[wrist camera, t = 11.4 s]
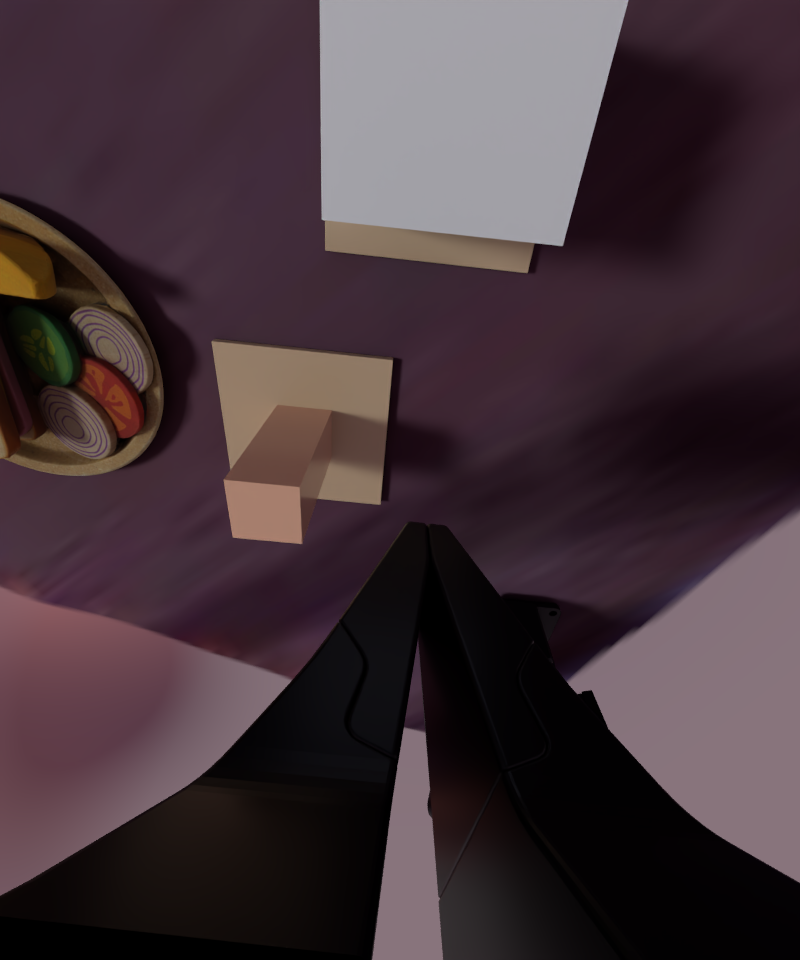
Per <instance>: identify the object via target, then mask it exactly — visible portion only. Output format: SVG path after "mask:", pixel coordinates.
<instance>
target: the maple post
mask: <svg viewBox="0 0 800 960" xmlns="http://www.w3.org/2000/svg"><path fill="white" fill-rule="evenodd" d="M534 244H535V243H529V242H520V241H511V240H502V239H493V238H483V237H474V236H465V235H456V234H447V233H437V232H428V231H419V230H410V229H401V228H391V227H382V226H373V225H364V224H355V223H345V222H336V221H327V220H325V251H334V252H343V253H352V254H361V255H370V256H379V257H388V258H397V259H406V260H414V261H423V262H432V263H441V264H450V265H459V266H468V267H477V268H486V269H495V270H504V271H513V272H522V273H528V269H529V265H530V261H531V256H532V252H533V248H534Z"/></svg>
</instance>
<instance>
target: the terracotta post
mask: <svg viewBox="0 0 800 960" xmlns="http://www.w3.org/2000/svg"><path fill="white" fill-rule="evenodd" d="M212 347H213V354H214V360H215V367H216V374H217V381H218V387H219V394H220V401H221V408H222V414H223V421H224V428H225V435H226V441H227V448H228V455H229V462H230V468H231V470H230V472H229V473H228V474H227V476H226V477H225V479H224V485H225V492H226V498H227V504H228V510H229V516H230V522H231V529H232V535H233V538H244V539H255V540H266V541H277V542H287V543H298V544H302V543H303V540H304V537H305V534H306V531H307V528H308V525H309V522H310V519H311V516H312V513H313V510H314V507H315V504H316V501H317V499H326V500H337V501H347V502H358V503H368V504H379V505H380V503H381V493H382V481H383V470H384V458H385V447H386V436H387V424H388V413H389V401H390V390H391V378H392V367H393V357H383V356H374V355H364V354H355V353H345V352H336V351H326V350H316V349H307V348H297V347H288V346H278V345H269V344H259V343H250V342H240V341H231V340H221V339H214V340H213V341H212Z"/></svg>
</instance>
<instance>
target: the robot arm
mask: <svg viewBox="0 0 800 960" xmlns="http://www.w3.org/2000/svg"><path fill="white" fill-rule="evenodd" d="M560 615H561V611H560V608H559V606H558V605H557V604H554V603H543V602H532V601H520V600H509V599H502V598H501V597H500V595H499V594H498V593H497V591H496V590H495V589H494V587H493V586H492V585H491V584H490V582H489V581H488V580H487V578H486V577H485V576H484V574H483V573H482V572H481V570H480V569H479V568H478V566H477V565H476V564H475V563H474V561H473V560H472V559H471V557H470V556H469V555H468V553H467V552H466V551H465V549H464V548H463V547H462V545H461V544H460V543H459V542H458V540H457V539H456V538H455V536H454V535H453V534H452V532H451V531H450V530H449V528H448V527H447V526H445V525H436V524H428V525H427V526H426V524H425V523H419V522H407V523H406V524H405V526H404V527H403V529H402V530H401V532H400V533H399V534H398V536H397V537H396V539H395V540H394V542H393V543H392V545H391V546H390V547H389V549H388V550H387V552H386V553H385V555H384V556H383V558H382V559H381V560H380V562H379V563H378V565H377V566H376V568H375V569H374V570H373V572H372V573H371V575H370V576H369V578H368V579H367V581H366V582H365V583H364V585H363V586H362V588H361V589H360V591H359V592H358V593H357V595H356V596H355V598H354V599H353V601H352V602H351V604H350V605H349V606H348V608H347V609H346V611H345V612H344V614H343V615H342V617H341V618H340V619H339V622H338V623H336V625H335V626H334V628H333V629H332V631H331V632H330V633H329V635H328V636H327V638H326V639H325V640H324V642H323V643H322V644H321V646H320V647H319V648H318V650H317V651H316V652H315V654H314V655H313V656H312V658H311V659H310V660H309V661H308V662H307V664H306V665H305V666H304V667H303V668H302V669H301V671H300V672H299V673H298V674H297V675H296V676H295V678H294V679H293V680H292V681H291V682H290V684H288V686H287V687H286V688H285V689H284V690H283V691H282V692H281V693H280V694H279V695H278V697H277V698H276V699H275V700H274V701H273V702H272V703H271V704H270V705H269V706H268V707H267V709H266V710H265V711H264V712H263V713H262V714H261V715H260V716H259V717H258V719H256V721H255V722H254V723H253V724H252V725H251V726H250V727H249V728H248V729H247V730H246V732H245V733H244V734H243V735H242V736H241V737H240V738H239V739H238V740H237V741H236V743H234V745H233V746H232V747H231V748H230V749H229V750H228V751H227V752H226V753H225V754H224V755H223V756H222V757H221V758H220V759H219V760H218V761H217V762H216V763H215V764H214V765H213V766H212V767H211V768H209V769H208V770H207V771H206V772H205V773H203V774H202V775H201V776H200V777H199V778H197V779H196V780H194V781H193V782H192V783H190V784H189V785H188V786H186V787H185V788H183V789H181V790H180V791H178V792H177V793H175V794H173V795H172V796H170V797H168V798H167V799H165V800H163V801H161V802H160V803H158V804H156V805H155V806H153V807H151V808H150V809H148V810H146V811H145V812H143V813H141V814H140V815H138V816H136V817H135V818H133V819H131V820H130V821H128V822H126V823H125V824H123V825H121V826H120V827H118V828H117V829H115V830H113V831H111V832H110V833H108V834H106V835H105V836H103V837H101V838H99V839H98V840H96V841H94V842H93V843H91V844H89V845H88V846H86V847H85V848H83V849H81V850H79V851H78V852H76V853H74V854H73V855H71V856H69V857H68V858H66V859H64V860H63V861H61V862H59V863H58V864H56V865H54V866H53V867H51V868H49V869H48V870H46V871H44V872H42V873H41V874H39V875H37V876H36V877H34V878H33V879H31V880H29V881H27V882H25V883H23V884H22V885H20V886H18V887H16V888H14V889H12V890H10V891H8V892H7V893H4V894H2V895H1V896H0V960H372V956H373V948H374V940H375V932H376V923H377V916H378V908H379V900H380V892H381V884H382V876H383V868H384V860H385V852H386V845H387V836H388V828H389V820H390V813H391V806H392V799H393V792H394V785H395V779H396V772H397V765H398V760H399V753H400V747H401V741H402V734H403V729H404V722H405V716H406V710H407V704H408V697H409V691H410V685H411V678H412V672H413V666H414V660H415V653H416V647H417V641H418V642H419V654H420V667H421V680H422V693H423V706H424V718H425V731H426V744H427V756H428V769H429V781H430V793H429V798H428V812H429V815H430V816H431V817H432V819H433V820H432V821H433V834H434V846H435V859H436V871H437V884H438V896H439V897H440V900H439V912H440V922H441V923H440V924H441V937H442V950H443V960H800V883H799V882H797V881H796V880H794V879H792V878H790V877H789V876H787V875H785V874H783V873H782V872H780V871H778V870H776V869H775V868H773V867H771V866H769V865H768V864H766V863H764V862H762V861H761V860H759V859H757V858H755V857H754V856H752V855H750V854H749V853H747V852H745V851H743V850H742V849H740V848H738V847H736V846H735V845H733V844H731V843H729V842H728V841H726V840H724V839H723V838H721V837H719V836H718V835H716V834H715V833H713V832H712V831H711V830H709V829H708V828H706V827H705V826H703V825H702V824H701V823H700V822H699V821H697V820H696V819H695V818H694V817H693V816H691V815H690V814H689V813H688V812H686V810H684V809H683V808H682V807H681V806H680V805H679V804H678V803H677V802H676V801H675V800H674V799H672V797H671V796H670V795H669V794H668V793H667V792H666V791H665V790H664V789H663V788H662V787H661V786H660V785H659V784H658V783H657V782H656V781H655V779H654V778H653V777H652V776H651V775H650V774H649V773H648V772H647V771H646V770H645V769H644V767H643V766H642V765H641V764H640V763H639V762H638V761H637V760H636V759H635V758H634V757H633V756H632V754H631V753H630V752H629V751H628V750H627V749H626V748H625V747H624V746H623V745H622V744H621V742H620V741H619V740H618V739H617V738H616V737H615V736H614V735H613V734H612V733H611V732H610V730H609V729H608V727H607V725H606V722H605V720H604V718H603V715H602V713H601V711H600V708H599V706H598V704H597V701H596V699H595V697H594V694H593V692H592V690H591V691H583V692H582V694H577V693H576V692H575V691H574V690H573V689H572V688H571V687H570V686H569V684H568V683H567V682H566V681H565V679H564V678H563V677H562V676H561V674H560V673H559V672H558V671H557V669H556V667H555V664H554V660H553V657H552V654H551V651H550V647H549V644H548V640H549V638H550V636H551V634H552V632H553V630H554V628H555V625H556V623H557V621H558V619H559V617H560Z"/></svg>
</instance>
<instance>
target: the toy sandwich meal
mask: <svg viewBox="0 0 800 960" xmlns="http://www.w3.org/2000/svg"><path fill="white" fill-rule="evenodd" d="M163 405H164V390H163V381H162V375H161V370H160V366H159V362H158V359H157V355H156V353H155V350H154V347H153V345H152V342H151V340H150V337H149V335H148V333H147V331H146V329H145V327H144V325H143V323H142V322H141V320H140V318H139V316H138V315H137V313H136V311H135V310H134V308H133V307H132V305H131V304H130V302H129V301H128V299H127V298H126V297H125V295H124V294H123V292H122V291H121V290H120V289H119V287H118V286H117V285H116V284H115V283H114V281H113V280H112V279H111V278H110V277H109V276H108V275H107V273H106V272H105V271H104V270H103V269H102V268H101V267H100V266H99V265H98V264H97V263H96V262H95V261H94V260H93V259H92V258H91V257H90V256H89V255H88V254H87V253H86V252H84V251H83V250H82V249H81V248H80V247H79V246H77V245H76V244H75V243H74V242H73V241H71V240H70V239H69V238H67V237H66V236H65V235H63V234H62V233H61V232H59V231H58V230H56V229H55V228H53V227H52V226H51V225H49V224H48V223H46V222H44V221H43V220H41V219H40V218H38V217H36V216H34V215H33V214H31V213H29V212H27V211H26V210H24V209H22V208H20V207H18V206H16V205H14V204H12V203H9V202H7V201H5V200H2V199H0V459H6V460H8V461H11V462H13V463H16V464H19V465H22V466H25V467H28V468H31V469H34V470H38V471H42V472H47V473H52V474H59V475H69V476H89V475H97V474H103V473H107V472H111V471H114V470H117V469H119V468H122V467H124V466H126V465H127V464H129V463H131V462H132V461H134V460H135V459H137V458H138V457H139V456H140V455H141V454H142V453H143V452H144V451H145V450H146V449H147V448H148V446H149V445H150V444H151V442H152V441H153V439H154V437H155V435H156V433H157V430H158V428H159V425H160V422H161V418H162V413H163Z"/></svg>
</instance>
